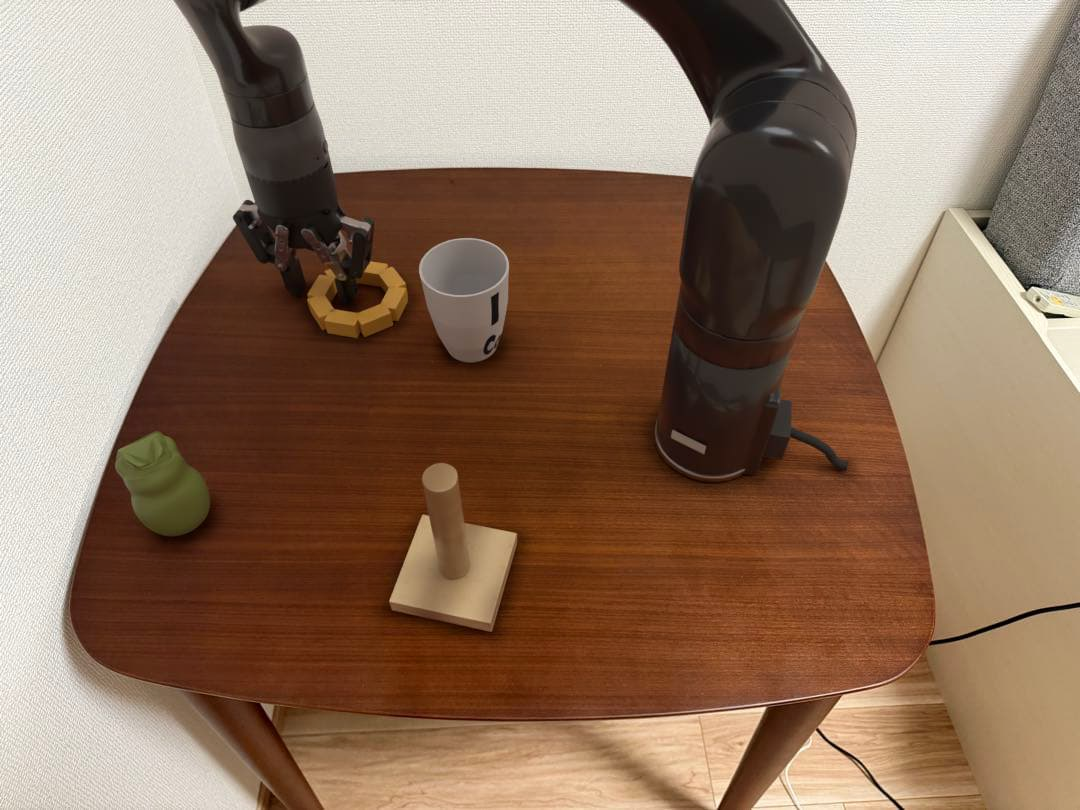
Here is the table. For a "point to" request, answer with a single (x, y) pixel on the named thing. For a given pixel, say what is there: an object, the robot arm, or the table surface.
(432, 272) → the cup
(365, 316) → the ring
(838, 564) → the table surface
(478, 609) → the stand
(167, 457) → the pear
